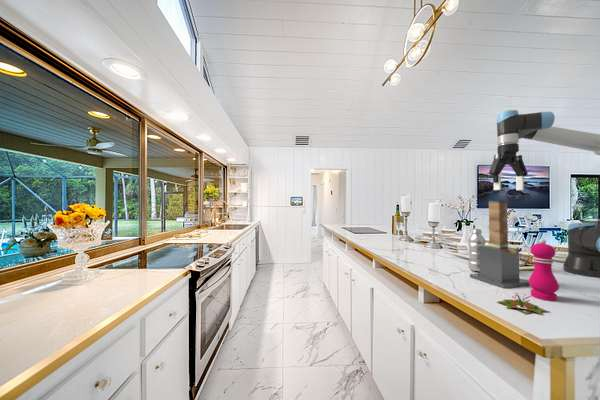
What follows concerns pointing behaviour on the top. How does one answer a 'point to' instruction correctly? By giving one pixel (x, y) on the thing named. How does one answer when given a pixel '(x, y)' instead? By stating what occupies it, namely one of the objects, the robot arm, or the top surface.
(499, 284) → the sleeve
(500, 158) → the robot arm
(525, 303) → the lily flower
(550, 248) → the pepper mill
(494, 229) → the column
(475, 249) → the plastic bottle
